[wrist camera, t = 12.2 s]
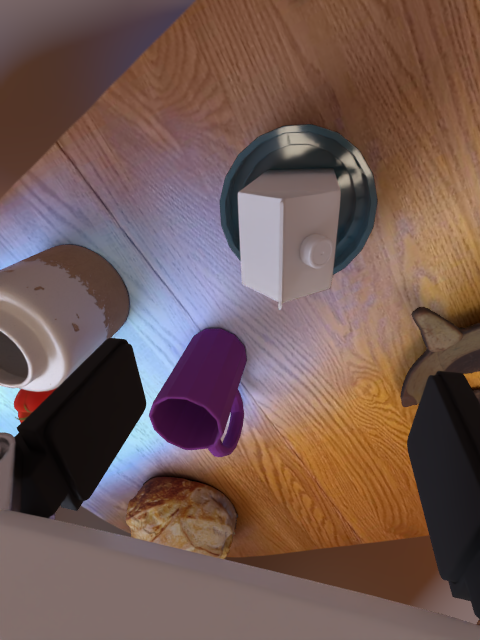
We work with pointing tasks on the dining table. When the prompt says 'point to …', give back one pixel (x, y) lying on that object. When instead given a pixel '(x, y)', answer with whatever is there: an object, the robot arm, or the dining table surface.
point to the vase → (56, 315)
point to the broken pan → (441, 353)
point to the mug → (203, 395)
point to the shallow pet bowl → (307, 153)
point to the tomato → (29, 402)
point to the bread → (183, 516)
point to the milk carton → (289, 232)
